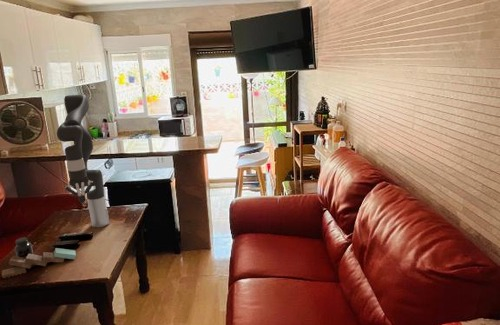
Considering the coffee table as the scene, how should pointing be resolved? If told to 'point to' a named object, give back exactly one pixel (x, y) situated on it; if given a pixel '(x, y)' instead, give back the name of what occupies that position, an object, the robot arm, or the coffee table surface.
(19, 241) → the supplement bottle
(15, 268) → the domino
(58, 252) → the domino
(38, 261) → the domino
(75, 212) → the coffee table surface
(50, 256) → the domino
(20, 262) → the domino
